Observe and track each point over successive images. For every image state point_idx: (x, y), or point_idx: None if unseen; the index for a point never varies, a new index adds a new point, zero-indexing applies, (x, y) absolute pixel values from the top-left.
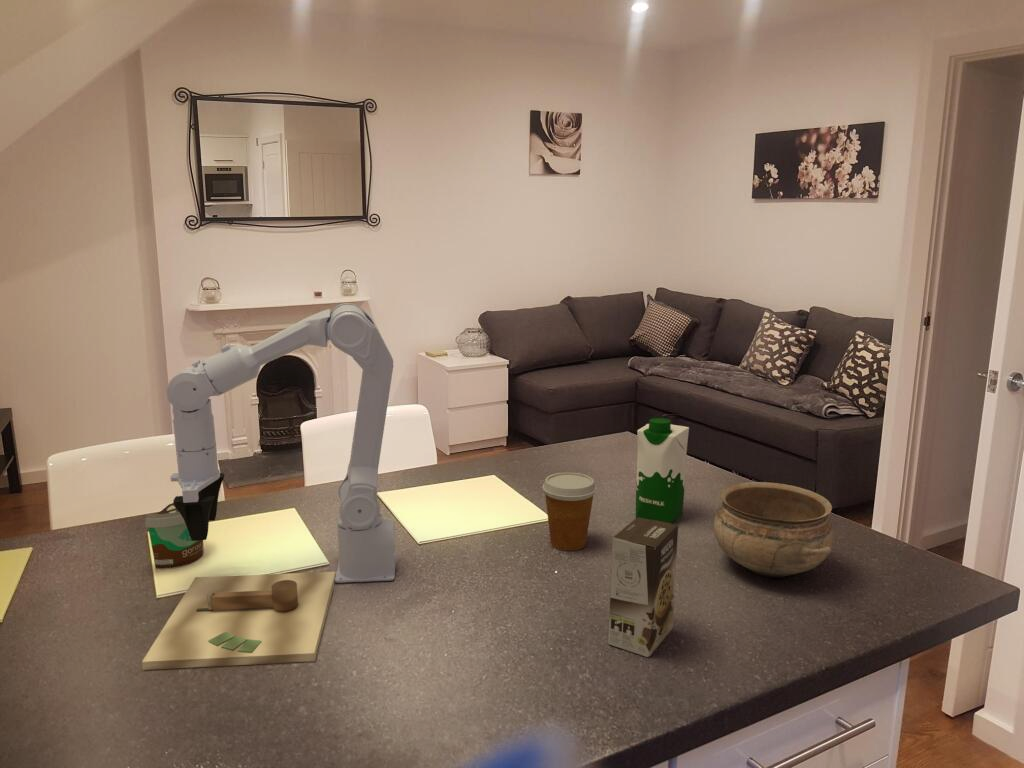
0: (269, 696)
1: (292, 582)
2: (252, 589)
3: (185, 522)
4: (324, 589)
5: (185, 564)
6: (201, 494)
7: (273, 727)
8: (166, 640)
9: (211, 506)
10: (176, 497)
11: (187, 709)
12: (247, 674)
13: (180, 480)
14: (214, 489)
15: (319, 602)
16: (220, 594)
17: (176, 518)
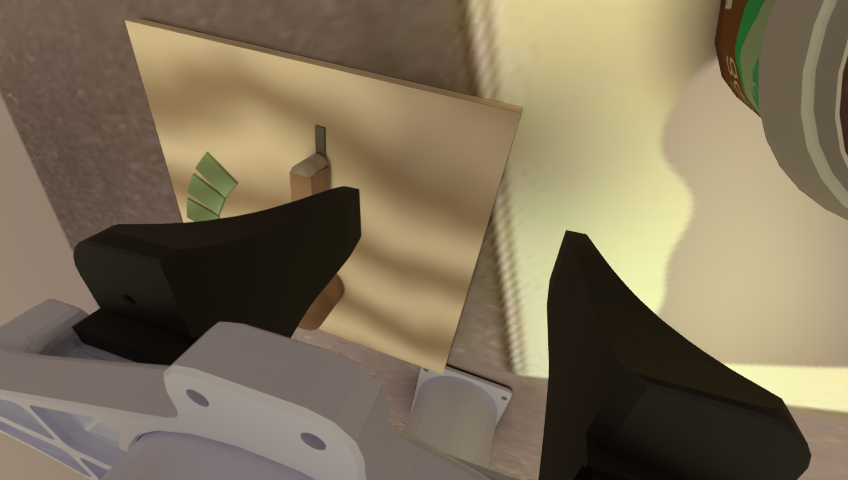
0: (137, 219)
1: (312, 325)
2: (401, 244)
3: (265, 211)
4: (376, 343)
5: (719, 57)
6: (573, 349)
7: (92, 216)
8: (201, 64)
9: (556, 323)
10: (141, 266)
11: (82, 116)
12: (171, 199)
13: (98, 416)
14: (548, 430)
15: (333, 326)
16: (302, 195)
17: (792, 81)
